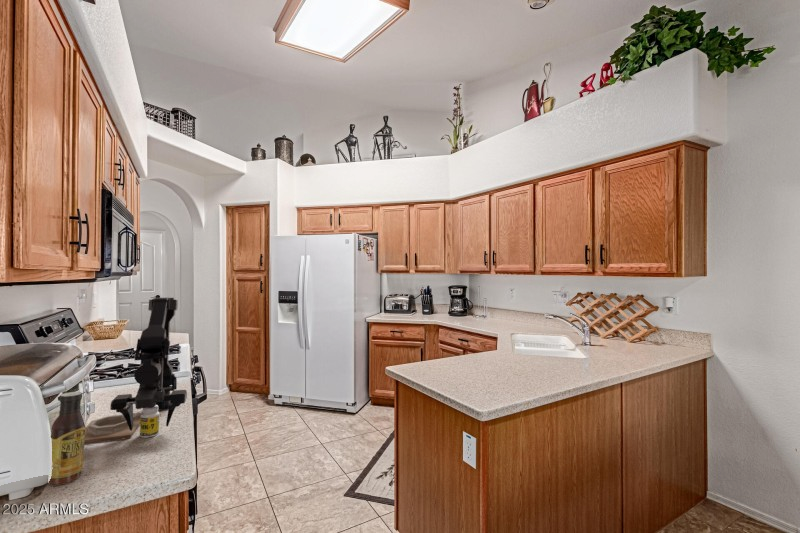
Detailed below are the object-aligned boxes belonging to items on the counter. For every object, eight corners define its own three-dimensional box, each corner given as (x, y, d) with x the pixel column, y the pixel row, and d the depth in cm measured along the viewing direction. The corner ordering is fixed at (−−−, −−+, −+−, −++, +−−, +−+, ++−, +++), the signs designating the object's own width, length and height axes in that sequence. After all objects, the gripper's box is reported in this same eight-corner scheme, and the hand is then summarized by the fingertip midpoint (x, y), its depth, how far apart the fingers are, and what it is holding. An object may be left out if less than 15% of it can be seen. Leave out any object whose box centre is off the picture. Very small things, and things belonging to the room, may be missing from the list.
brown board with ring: (91, 424, 121) (92, 414, 121) (143, 418, 126) (144, 409, 126) (70, 445, 106) (71, 434, 106) (130, 438, 112) (130, 427, 112)
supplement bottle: (137, 438, 111) (138, 410, 111) (143, 432, 116) (144, 404, 116) (155, 437, 113) (156, 408, 113) (161, 431, 117) (162, 403, 117)
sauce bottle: (61, 488, 85) (65, 399, 86) (39, 485, 86) (43, 397, 87) (90, 474, 92) (93, 391, 92) (69, 470, 93) (73, 389, 93)
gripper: (105, 386, 104) (102, 443, 103) (183, 380, 111) (180, 434, 110) (117, 375, 114) (115, 428, 114) (188, 371, 121) (186, 420, 121)
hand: (149, 428), depth 114 cm, fingers open, 9 cm apart
